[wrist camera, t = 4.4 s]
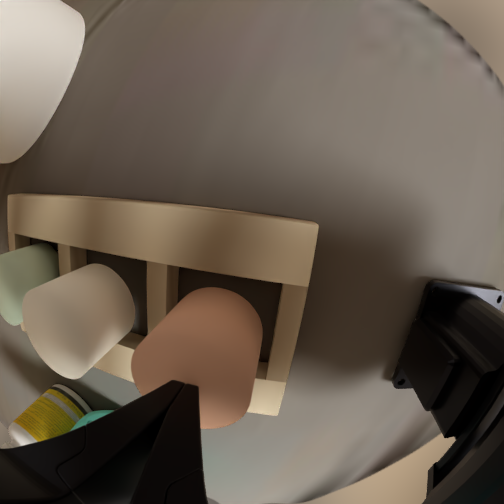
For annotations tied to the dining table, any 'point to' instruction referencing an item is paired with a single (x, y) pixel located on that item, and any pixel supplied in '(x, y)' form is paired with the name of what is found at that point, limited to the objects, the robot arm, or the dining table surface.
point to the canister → (34, 68)
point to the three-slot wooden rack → (179, 261)
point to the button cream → (78, 318)
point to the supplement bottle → (48, 417)
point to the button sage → (24, 276)
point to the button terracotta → (205, 353)
